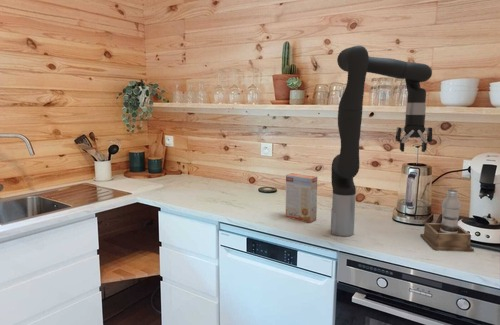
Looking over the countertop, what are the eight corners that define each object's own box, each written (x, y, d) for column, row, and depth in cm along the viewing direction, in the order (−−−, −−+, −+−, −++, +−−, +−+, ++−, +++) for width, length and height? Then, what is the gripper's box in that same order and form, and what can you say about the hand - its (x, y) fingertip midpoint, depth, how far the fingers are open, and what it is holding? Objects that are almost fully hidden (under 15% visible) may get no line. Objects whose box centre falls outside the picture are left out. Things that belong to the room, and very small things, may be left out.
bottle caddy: (433, 250, 132) (434, 234, 131) (420, 236, 146) (421, 222, 145) (473, 251, 131) (475, 236, 130) (456, 237, 144) (457, 223, 143)
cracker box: (317, 220, 167) (318, 176, 163) (310, 223, 162) (311, 178, 159) (292, 214, 176) (292, 172, 172) (285, 217, 172) (285, 174, 168)
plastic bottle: (451, 237, 141) (455, 188, 138) (461, 244, 135) (466, 193, 131) (435, 237, 141) (439, 188, 138) (444, 244, 135) (449, 193, 131)
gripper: (400, 114, 148) (398, 152, 150) (436, 113, 146) (433, 153, 149) (395, 113, 155) (393, 150, 158) (429, 113, 153) (426, 150, 156)
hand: (412, 151), depth 153 cm, fingers open, 8 cm apart
